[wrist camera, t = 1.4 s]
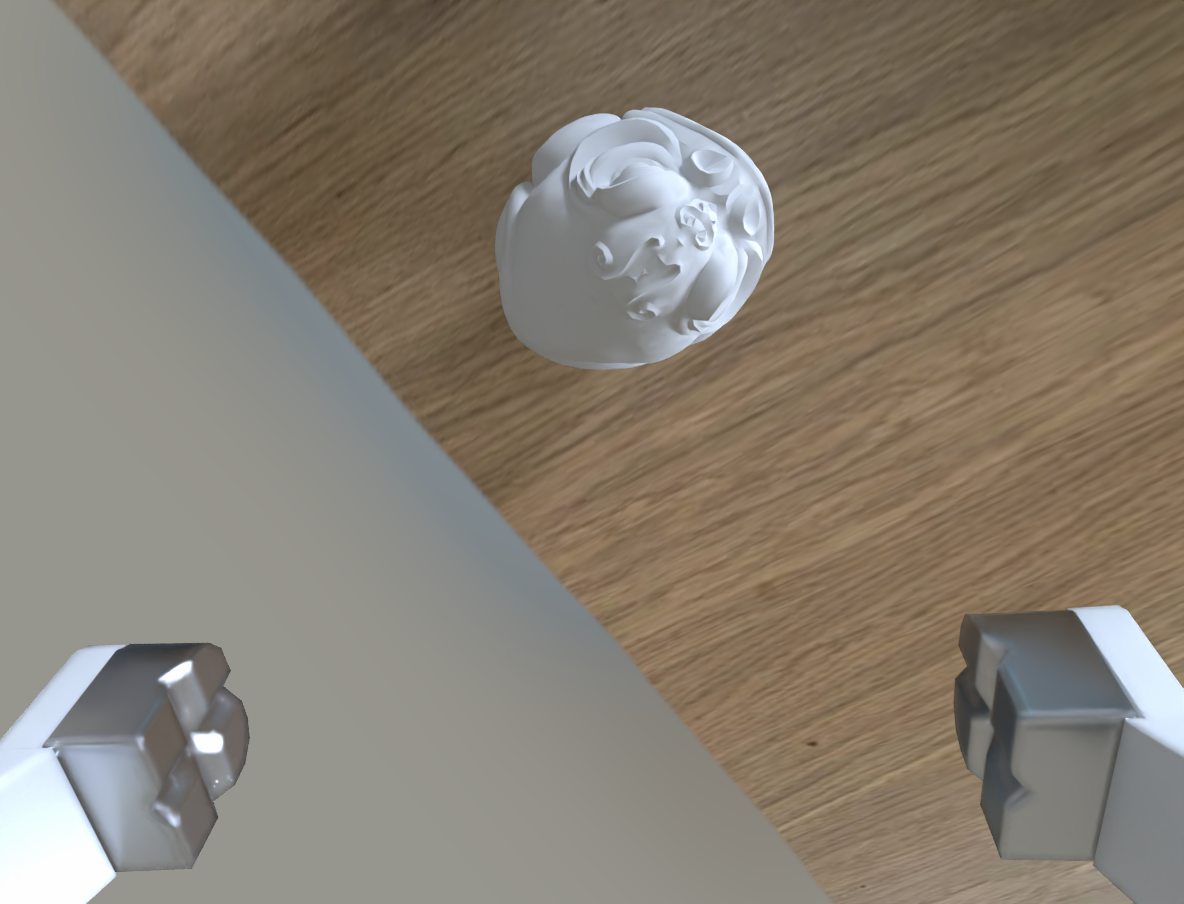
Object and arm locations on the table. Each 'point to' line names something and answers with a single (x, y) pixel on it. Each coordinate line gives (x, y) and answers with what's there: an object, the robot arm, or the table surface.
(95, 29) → the table surface
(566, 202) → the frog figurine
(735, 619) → the table surface
